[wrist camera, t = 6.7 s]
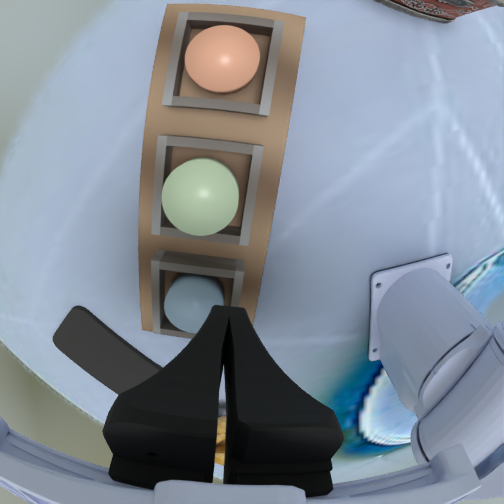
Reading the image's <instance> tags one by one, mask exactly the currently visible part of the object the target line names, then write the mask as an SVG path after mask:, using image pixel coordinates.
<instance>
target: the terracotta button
mask: <svg viewBox="0 0 504 504" xmlns="http://www.w3.org/2000/svg"><path fill="white" fill-rule="evenodd" d="M259 61H260V52H259V48H258V45H257V43H256V41H255V40H254V38H253V37H252V36H251V35H250V34H249V33H247V32H246V31H244V30H242V29H240V28H238V27H234V26H229V25H219V26H214V27H210V28H208V29H205V30H203V31H202V32H200V33H199V34H198V35H196V36H195V37H194V38H193V39H192V41H191V42H190V44H189V45H188V47H187V50H186V53H185V66H186V69H187V72H188V74H189V75H190V77H191V78H192V79H193V80H194V81H195V82H196V83H197V84H198V85H199V86H200V87H201V88H202V89H204V90H206V91H208V92H210V93H213V94H218V95H227V94H233V93H236V92H238V91H240V90H242V89H244V88H245V87H246V86H248V85H249V84H250V83H251V81H252V80H253V79H254V77H255V75H256V72H257V69H258V65H259Z"/></svg>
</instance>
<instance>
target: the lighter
mask: <svg viewBox="0 0 504 504" xmlns="http://www.w3.org/2000/svg"><path fill="white" fill-rule="evenodd" d="M374 1H376V2H378V3H381V4H383V5H385V6H388V7H390V8H393V9H395V10H398V11H400V12H403V13H406V14H409V15H411V16H414V17H418V18H422V19H425V20H429V21H434V22H439V23H449V22H452V21H454V20H455V19H456V17H459V16H462V15H465V14H469V13H472V12H475V11H478V10H482V9H485V8H489V7H492V6H496V5H497V6H499V7H504V0H374Z"/></svg>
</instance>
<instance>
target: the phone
mask: <svg viewBox="0 0 504 504" xmlns="http://www.w3.org/2000/svg"><path fill="white" fill-rule="evenodd" d="M53 342H54V344H55V346H56V347H57V348H58V349H59V350H60V351H61V352H63V353H64V354H65V355H66V356H67V357H69V358H70V359H71V360H72V361H73V362H75V363H76V364H77V365H78V366H80V367H81V368H82V369H84V370H85V371H86V372H88V373H89V374H90V375H91V376H93V377H94V378H96V379H97V380H98V381H100V382H101V383H102V384H104V385H105V386H107V387H108V388H109V389H111V390H112V391H114V392H115V393H117V394H118V395H119V394H120V393H123V392H125V391H127V390H129V389H131V388H133V387H135V386H136V385H138V384H140V383H142V382H143V381H145V380H146V379H148V378H149V377H151V376H152V375H154V374H155V373H157V372H158V371H160V370H161V369H162V367H161V366H159V365H158V364H156V363H155V362H153V361H152V360H150V359H149V358H148V357H146V356H145V355H144V354H142V353H141V352H140V351H138V350H137V349H136V348H134V347H133V346H132V345H130V344H129V343H128V342H126V341H125V340H124V339H123V338H121V337H120V336H119V335H117V334H116V333H115V332H114V331H112V330H111V329H110V328H109V327H108V326H106V325H105V324H104V323H103V322H102V321H100V320H99V319H98V318H97V317H96V316H95V315H93V314H92V313H91V312H90V311H89V310H87V309H86V308H84V307H82V306H75V307H73V309H72V310H71V311H70V312H69V314H68V315H67V317H66V318H65V319H64V321H63V322H62V324H61V325H60V327H59V328H58V329H57V331H56V332H55V334H54V336H53Z"/></svg>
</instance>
